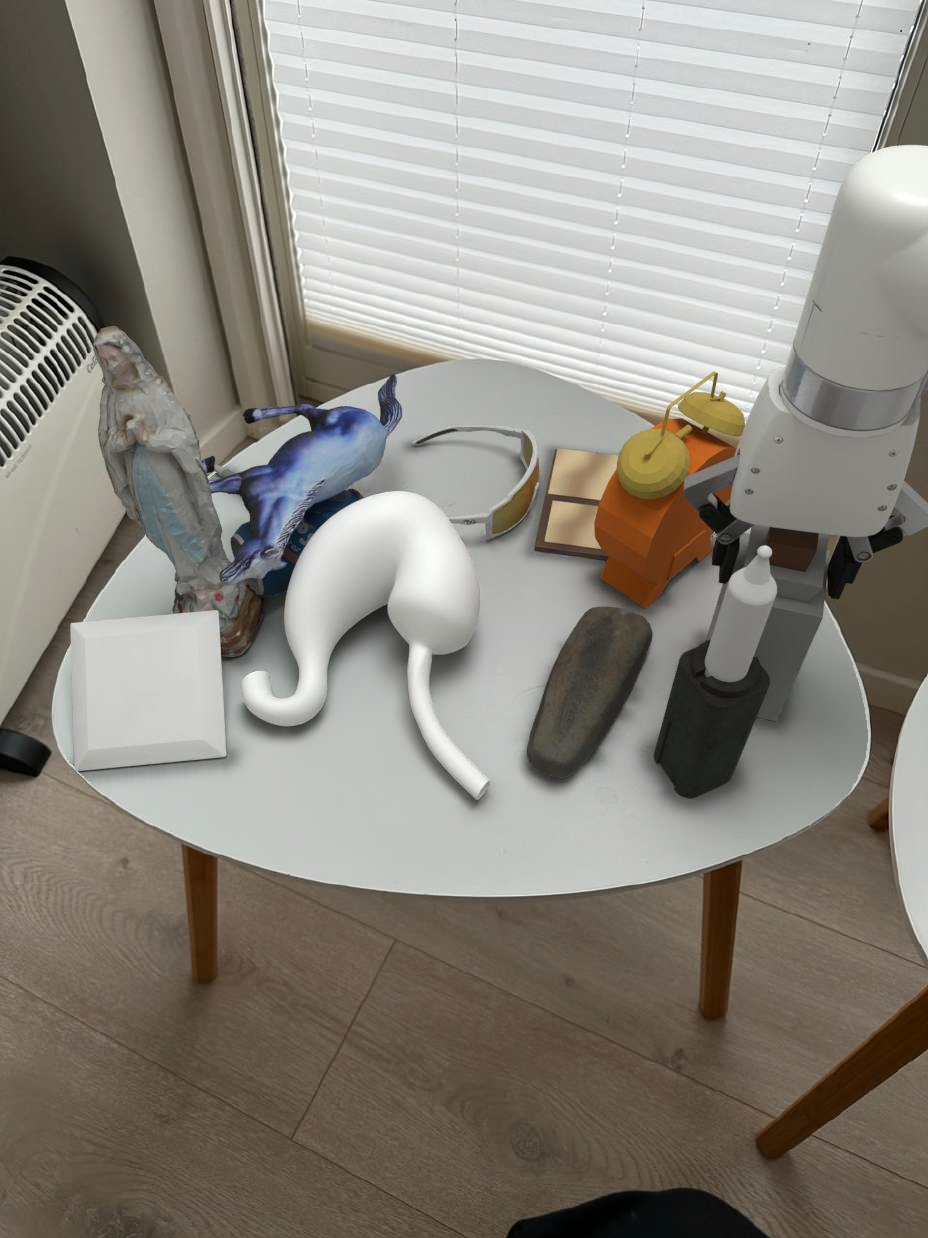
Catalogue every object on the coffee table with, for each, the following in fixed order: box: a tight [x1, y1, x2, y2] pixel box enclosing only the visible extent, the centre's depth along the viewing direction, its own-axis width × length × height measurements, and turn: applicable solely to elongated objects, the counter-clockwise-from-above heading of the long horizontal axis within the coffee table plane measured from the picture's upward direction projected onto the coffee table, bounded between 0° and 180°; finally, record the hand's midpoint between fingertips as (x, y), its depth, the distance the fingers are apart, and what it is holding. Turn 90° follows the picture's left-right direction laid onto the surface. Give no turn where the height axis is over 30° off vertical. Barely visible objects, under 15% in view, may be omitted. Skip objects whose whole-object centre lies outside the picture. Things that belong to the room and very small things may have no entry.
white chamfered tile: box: [69, 610, 227, 772], centre depth 77 cm, size 12×12×5 cm
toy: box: [201, 373, 403, 585], centre depth 82 cm, size 8×28×15 cm
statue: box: [92, 325, 266, 658], centre depth 72 cm, size 8×7×30 cm
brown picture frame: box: [534, 447, 619, 561], centre depth 92 cm, size 7×14×1 cm, turn 168°
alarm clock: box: [594, 370, 746, 610], centre depth 80 cm, size 13×6×20 cm, turn 135°
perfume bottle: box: [705, 524, 831, 722], centre depth 72 cm, size 7×7×18 cm
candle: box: [653, 546, 777, 799], centre depth 64 cm, size 5×5×25 cm
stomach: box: [240, 490, 491, 801], centre depth 76 cm, size 23×13×24 cm
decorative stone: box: [525, 605, 653, 778], centre depth 76 cm, size 17×6×4 cm, turn 154°
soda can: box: [229, 488, 365, 597], centre depth 85 cm, size 7×7×12 cm
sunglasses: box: [411, 424, 540, 538], centre depth 93 cm, size 14×15×5 cm
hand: (778, 575), depth 69 cm, fingers closed on perfume bottle, 7 cm apart
